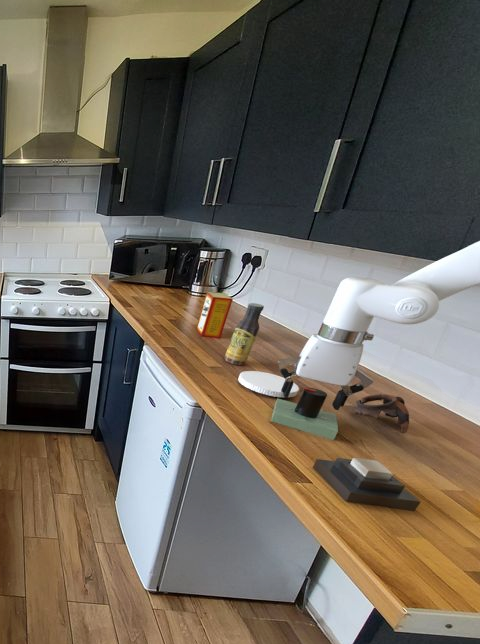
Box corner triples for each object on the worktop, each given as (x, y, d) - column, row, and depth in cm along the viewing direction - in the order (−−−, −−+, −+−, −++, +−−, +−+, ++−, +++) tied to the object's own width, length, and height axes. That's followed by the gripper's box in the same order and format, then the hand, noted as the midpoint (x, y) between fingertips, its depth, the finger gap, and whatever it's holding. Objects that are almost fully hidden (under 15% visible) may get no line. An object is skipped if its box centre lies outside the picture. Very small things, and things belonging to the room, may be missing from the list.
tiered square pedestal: (373, 475, 80) (382, 459, 78) (414, 511, 71) (426, 493, 69) (312, 467, 82) (320, 451, 80) (345, 501, 73) (355, 484, 71)
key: (372, 467, 76) (376, 460, 76) (388, 481, 73) (393, 473, 72) (349, 464, 77) (353, 457, 76) (364, 478, 73) (368, 470, 73)
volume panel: (332, 423, 99) (337, 413, 97) (333, 440, 91) (338, 430, 90) (273, 406, 105) (277, 397, 104) (270, 421, 98) (274, 412, 97)
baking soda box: (196, 329, 165) (207, 290, 158) (213, 331, 163) (225, 292, 157) (201, 336, 156) (213, 296, 150) (220, 338, 155) (233, 298, 148)
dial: (317, 413, 98) (327, 390, 95) (317, 420, 94) (328, 396, 92) (294, 407, 100) (304, 384, 97) (294, 413, 97) (304, 390, 94)
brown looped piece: (403, 440, 93) (393, 408, 93) (352, 435, 102) (343, 406, 101) (425, 416, 98) (416, 386, 97) (374, 414, 107) (365, 386, 106)
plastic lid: (273, 379, 121) (276, 372, 120) (308, 401, 108) (311, 393, 107) (227, 377, 121) (229, 369, 120) (256, 399, 108) (259, 391, 107)
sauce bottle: (219, 360, 134) (238, 302, 126) (231, 357, 137) (250, 300, 128) (238, 367, 129) (258, 307, 121) (250, 365, 131) (271, 306, 123)
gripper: (388, 338, 88) (352, 406, 95) (291, 322, 96) (266, 385, 103) (397, 348, 82) (359, 419, 89) (294, 330, 90) (267, 396, 97)
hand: (309, 401), depth 96 cm, fingers open, 9 cm apart
